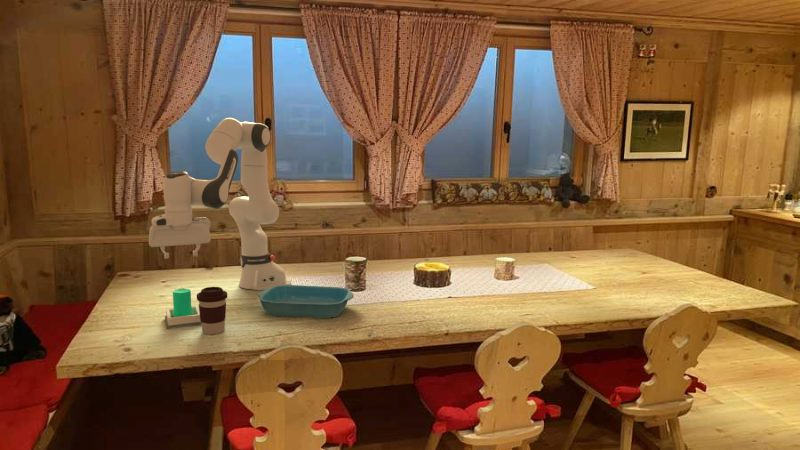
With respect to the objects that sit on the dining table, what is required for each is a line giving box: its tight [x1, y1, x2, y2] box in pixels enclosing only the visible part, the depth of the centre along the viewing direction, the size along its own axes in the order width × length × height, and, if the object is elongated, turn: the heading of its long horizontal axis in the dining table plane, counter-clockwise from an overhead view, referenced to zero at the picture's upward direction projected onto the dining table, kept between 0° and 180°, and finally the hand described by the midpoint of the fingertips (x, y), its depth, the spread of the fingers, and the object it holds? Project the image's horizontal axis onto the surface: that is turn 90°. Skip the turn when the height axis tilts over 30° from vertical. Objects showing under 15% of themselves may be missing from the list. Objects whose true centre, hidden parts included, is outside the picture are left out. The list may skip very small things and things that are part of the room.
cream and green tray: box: [164, 305, 202, 329], centre depth 204 cm, size 15×11×4 cm
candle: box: [172, 286, 192, 317], centre depth 202 cm, size 6×6×12 cm
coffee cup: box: [196, 286, 228, 335], centre depth 193 cm, size 10×10×15 cm
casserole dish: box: [257, 284, 354, 319], centre depth 218 cm, size 37×22×7 cm, turn 84°
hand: (181, 257), depth 199 cm, fingers open, 8 cm apart
